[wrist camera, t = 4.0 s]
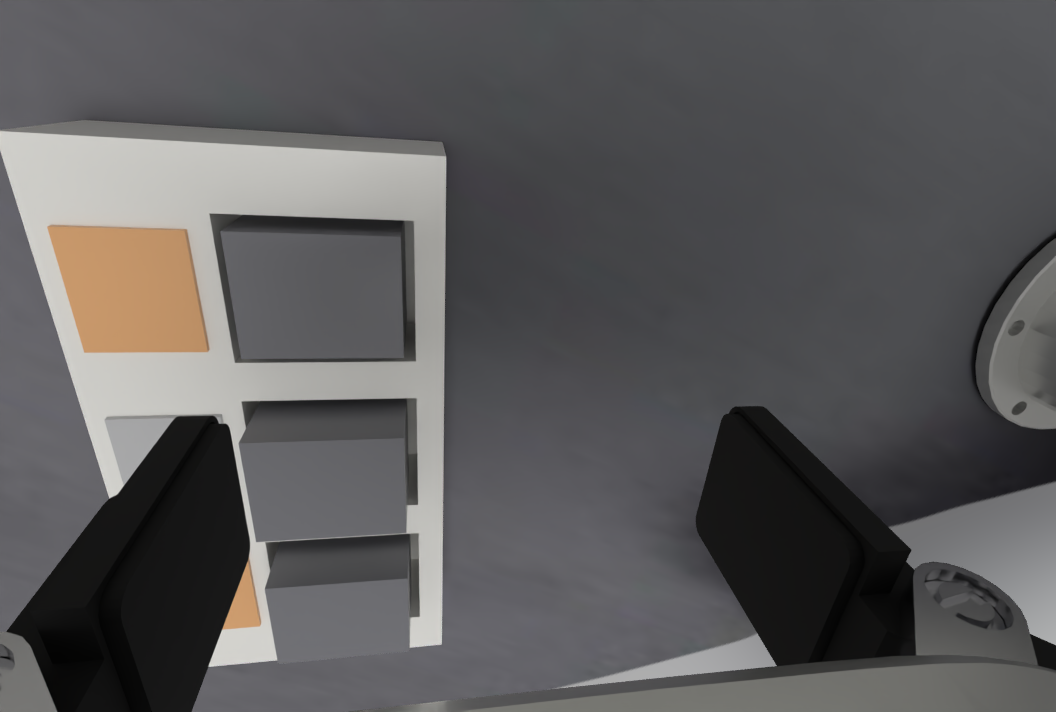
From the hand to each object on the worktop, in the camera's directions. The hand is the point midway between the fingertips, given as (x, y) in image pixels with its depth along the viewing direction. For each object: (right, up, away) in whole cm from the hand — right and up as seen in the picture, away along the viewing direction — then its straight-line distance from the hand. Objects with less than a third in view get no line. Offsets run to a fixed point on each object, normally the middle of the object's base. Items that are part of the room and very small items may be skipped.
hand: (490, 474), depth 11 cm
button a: (-7, +6, +10) cm, 14 cm away
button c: (-7, -7, +15) cm, 18 cm away
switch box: (-9, 0, +14) cm, 17 cm away
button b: (-7, -1, +12) cm, 14 cm away
